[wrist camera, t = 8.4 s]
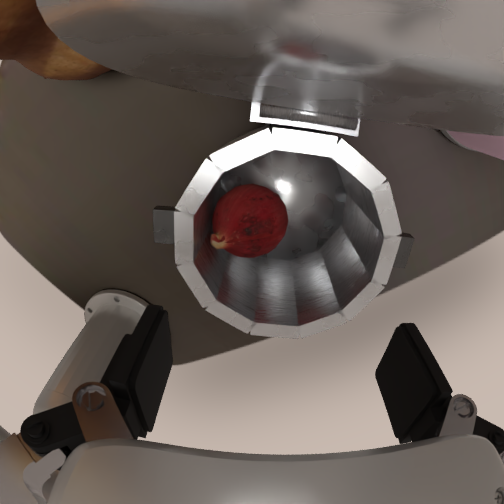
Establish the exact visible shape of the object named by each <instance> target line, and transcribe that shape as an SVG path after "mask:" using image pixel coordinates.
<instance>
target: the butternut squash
mask: <svg viewBox="0 0 504 504" xmlns="http://www.w3.org/2000/svg"><path fill="white" fill-rule="evenodd" d="M12 59H13V60H16V61H18V62H19V63H21V64H22V65H23V66H25V67H26V68H27V69H29V70H31V71H33V72H34V73H36V74H38V75H41V76H43V77H44V78H45V79H46V78H50V79H57V80H88V79H92V78H95V77H97V76H99V75H101V74H103V73H105V72H108V71H110V70H112V69H110V68H107V67H105V66H103V65H100V64H98V63H96V62H94V61H92V60H89V59H88V58H86V57H84V56H82V55H81V54H79V53H77V52H76V51H74V50H73V49H71V48H70V47H69V46H67V45H66V44H65V43H64V42H62V41H61V40H60V39H59V38H58V37H57V36H56V35H55V34H54V33H53V31H52V30H51V29H50V28H49V27H48V26H47V24H46V23H45V21H44V19H43V17H42V15H41V13H40V11H39V9H38V7H37V3H36V0H0V60H12Z"/></svg>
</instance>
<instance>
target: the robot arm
mask: <svg viewBox="0 0 504 504" xmlns="http://www.w3.org/2000/svg"><path fill="white" fill-rule="evenodd" d="M84 315H85V321H86V325H85V327H84V328H83V329H82V331H81V332H80V334H79V335H78V337H77V338H76V339H75V341H74V342H73V344H72V346H71V347H70V348H69V350H68V351H67V353H66V354H65V356H64V357H63V359H62V360H61V362H60V363H59V365H58V367H57V368H56V370H55V371H54V373H53V374H52V376H51V377H50V379H49V381H48V382H47V384H46V386H45V387H44V389H43V390H42V392H41V394H40V395H39V397H38V399H37V401H36V403H35V406H34V409H33V415H31V416H30V417H28V418H27V419H26V420H25V421H24V422H23V424H22V426H21V432H20V433H19V434H17V435H16V434H15V433H13V434H12V435H11V434H10V433H8V432H7V431H6V430H5V429H4V428H2V427H1V426H0V504H504V430H503V429H501V428H500V427H498V426H496V425H494V424H492V423H490V422H488V421H486V420H484V419H482V418H481V417H479V416H477V408H476V405H475V403H474V401H473V400H471V398H469V397H468V396H466V395H463V394H458V395H455V396H453V397H452V396H451V393H452V392H453V391H452V389H451V387H450V385H449V383H448V381H447V379H446V377H445V376H444V374H443V372H442V370H441V368H440V367H439V365H438V363H437V361H436V359H435V357H434V356H433V354H432V352H431V350H430V349H429V347H428V345H427V343H426V342H425V340H424V338H423V337H422V335H421V333H420V332H419V330H418V328H417V327H416V325H415V324H414V323H402V324H400V326H399V327H397V328H396V329H395V332H394V334H393V336H392V338H391V340H390V342H389V345H388V347H387V349H386V351H385V353H384V355H383V357H382V359H381V361H380V363H379V365H378V367H377V369H376V373H375V376H376V380H377V383H378V386H379V388H380V391H381V394H382V397H383V400H384V403H385V406H386V409H387V412H388V415H389V419H390V422H391V425H392V428H393V431H394V435H395V437H396V438H398V439H399V443H400V445H395V446H389V447H383V448H376V449H369V450H360V451H351V452H341V453H327V454H307V455H306V454H305V455H268V454H246V453H232V452H221V451H213V450H204V449H196V448H188V447H182V446H175V445H169V444H162V443H156V442H150V441H144V440H137V438H138V436H139V437H143V438H146V435H147V431H148V432H152V430H153V426H154V423H155V420H156V416H157V413H158V410H159V406H160V403H161V400H162V396H163V393H164V390H165V386H166V383H167V380H168V377H169V373H170V370H171V367H172V362H173V358H172V349H171V341H170V340H171V339H170V331H169V322H168V312H167V311H166V310H163V307H162V306H157V305H150V304H148V303H147V302H145V301H144V300H143V299H141V298H139V297H137V296H135V295H133V294H131V293H128V292H125V291H121V290H115V289H108V290H102V291H100V292H98V293H96V294H95V295H93V296H92V297H91V299H90V300H89V301H88V303H87V305H86V307H85V313H84ZM411 441H412V442H411ZM408 442H411V443H408ZM403 443H406V444H403Z"/></svg>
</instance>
